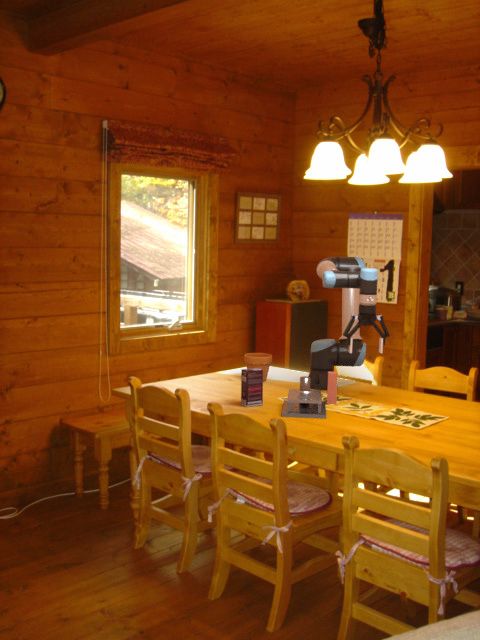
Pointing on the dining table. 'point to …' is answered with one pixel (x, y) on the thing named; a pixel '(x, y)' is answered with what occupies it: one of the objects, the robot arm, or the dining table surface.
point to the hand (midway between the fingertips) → (365, 352)
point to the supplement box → (252, 387)
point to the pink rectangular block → (332, 388)
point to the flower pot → (258, 362)
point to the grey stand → (304, 402)
